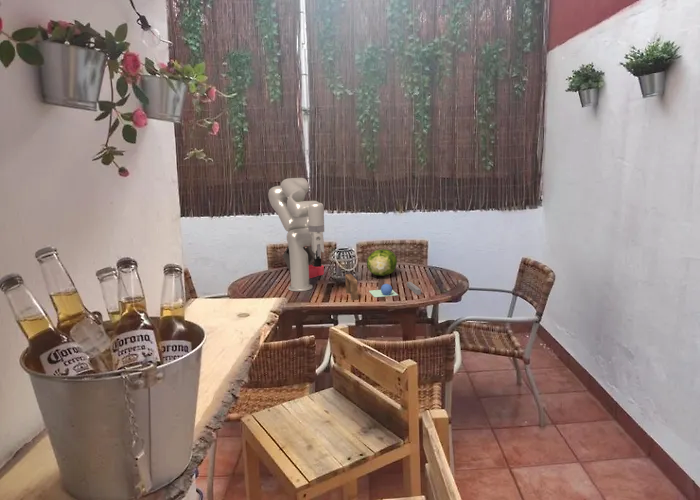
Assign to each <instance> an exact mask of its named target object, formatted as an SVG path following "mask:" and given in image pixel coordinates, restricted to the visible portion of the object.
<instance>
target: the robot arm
mask: <svg viewBox="0 0 700 500" xmlns="http://www.w3.org/2000/svg"><path fill="white" fill-rule="evenodd" d="M309 188H310V186H309V182H308V181H307V179H306V178H305V177H288V178H285V179H283V180H282V181H281V182H280V185H275V186H272V187H271V188H270V189H269V190H268V193H267V194H268V197H267V198H268V200H269V203H270V205H271V207H272V209H273V210H274V211H275V213H276V214H277V215H278V218H279V220H280V223H281V224H282V227H283V228H284V230H285V231H286V232H287V234H286V241H287V247H289V255H290V271H289V272H290V285H288V290H289V291H291V292H305V291H310V290H312V289H313V284H310V278H309V267H308V254H307V252H306V251H305V250H304V249H303V247H305V248H306V247H307V246H311V247H312V251H313V252H314V261H313V266H315V267H321V265H322V257H321V256H322V254H324V253H325V243H324V242H325V241H324V233H325V208H324V204H323V203H322V202H319V201H318V200H305V198H306V194H307V193H308V191H309ZM321 253H322V254H321Z"/></svg>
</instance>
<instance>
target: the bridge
mask: <svg viewBox="0 0 700 500" xmlns="http://www.w3.org/2000/svg"><path fill="white" fill-rule="evenodd" d="M344 277H345V293H346V294H350V300H351V301H356V300H359V297H358V296H359V293H358V292H359V289H358V280H357V279H356V277H354V275H352V273H348V274H347V273H346V274H345V276H344Z"/></svg>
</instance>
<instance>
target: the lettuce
mask: <svg viewBox="0 0 700 500" xmlns="http://www.w3.org/2000/svg"><path fill="white" fill-rule="evenodd" d="M397 264H398V260H397V256H396V254H395V253H394V252H393V251H392V250H390V249H386V248H385V249H384V248H383V249H376V250H375V251H373V252H372V253H370V254H369V256H368V257H367V260H366V266H367V269H368V271H369V272H370V273H371V274H373V275H375V276H380V277H383V276H384V277H385V276H389V275H390V274H393V273H394V271H395V270H396V267H397Z"/></svg>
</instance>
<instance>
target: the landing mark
mask: <svg viewBox="0 0 700 500" xmlns="http://www.w3.org/2000/svg"><path fill="white" fill-rule="evenodd" d="M368 292H369V294H371V296H373V298H383V297H393V296H399V294H398V293H397V292H395V291H394V290H393V289H392V292H391V294H389V295H384V294H383V293H382V292H381V289H375V290H373V289H372V290H368Z"/></svg>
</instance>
